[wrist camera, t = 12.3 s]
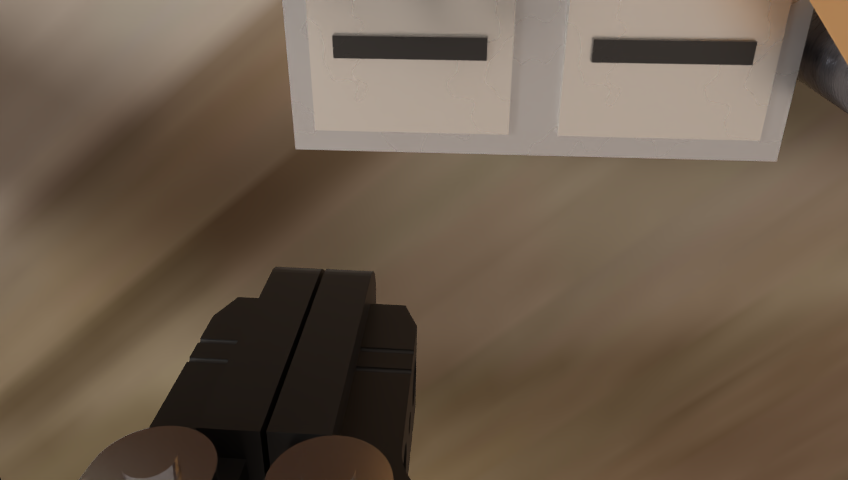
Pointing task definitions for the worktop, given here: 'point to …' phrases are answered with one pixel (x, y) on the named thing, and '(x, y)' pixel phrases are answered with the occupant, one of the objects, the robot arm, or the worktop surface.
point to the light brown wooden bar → (835, 21)
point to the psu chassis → (556, 76)
